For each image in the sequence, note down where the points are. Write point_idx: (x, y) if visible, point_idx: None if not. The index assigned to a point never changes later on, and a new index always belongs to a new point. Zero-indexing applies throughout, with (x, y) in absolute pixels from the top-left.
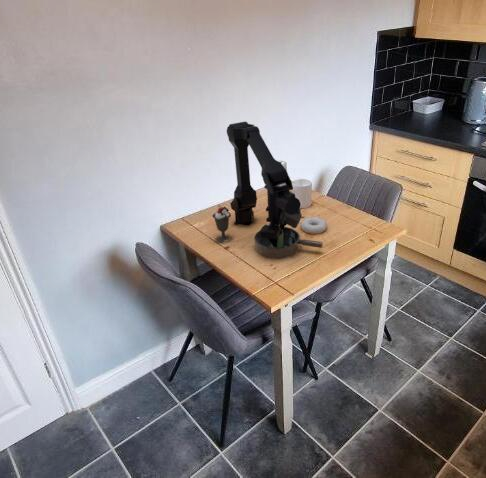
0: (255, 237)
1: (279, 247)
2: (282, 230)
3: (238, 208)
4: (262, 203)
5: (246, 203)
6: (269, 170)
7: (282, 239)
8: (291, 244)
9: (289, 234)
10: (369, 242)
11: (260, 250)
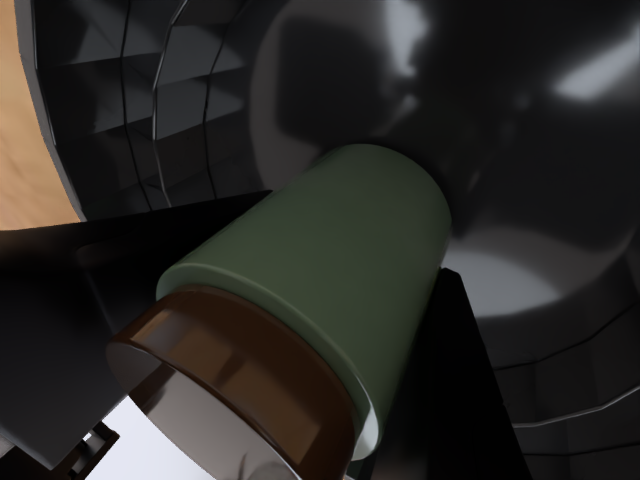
0: (345, 476)
1: (445, 218)
2: (184, 366)
3: (86, 465)
4: (5, 228)
5: (13, 478)
6: None
7: (362, 232)
8: (307, 20)
9: (143, 77)
10: None
11: (555, 463)
